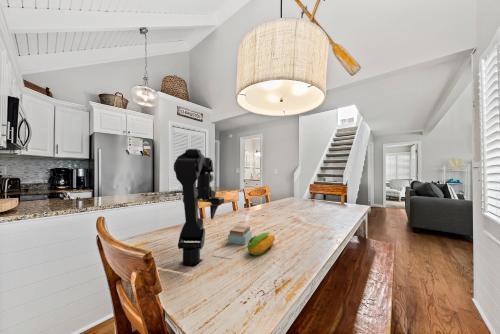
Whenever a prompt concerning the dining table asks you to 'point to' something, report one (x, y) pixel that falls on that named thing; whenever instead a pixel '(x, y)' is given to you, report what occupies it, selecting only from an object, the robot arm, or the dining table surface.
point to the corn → (260, 243)
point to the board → (239, 230)
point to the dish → (240, 238)
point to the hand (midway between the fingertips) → (203, 218)
